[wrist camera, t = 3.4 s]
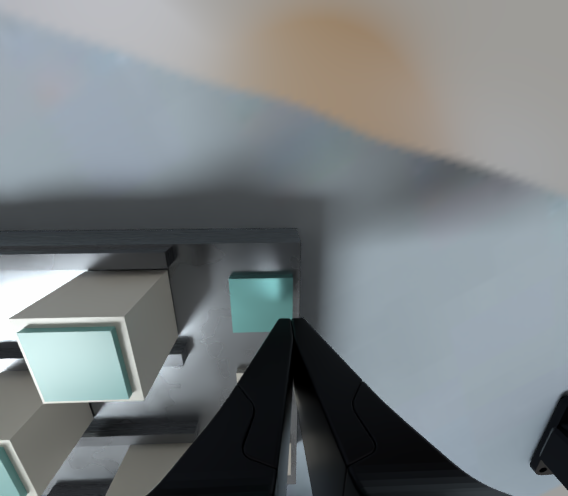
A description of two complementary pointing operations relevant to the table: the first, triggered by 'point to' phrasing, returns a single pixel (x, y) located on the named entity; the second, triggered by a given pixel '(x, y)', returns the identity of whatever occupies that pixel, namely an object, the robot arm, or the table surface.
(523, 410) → the table surface
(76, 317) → the slider
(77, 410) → the slider
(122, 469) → the slider
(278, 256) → the switch base
